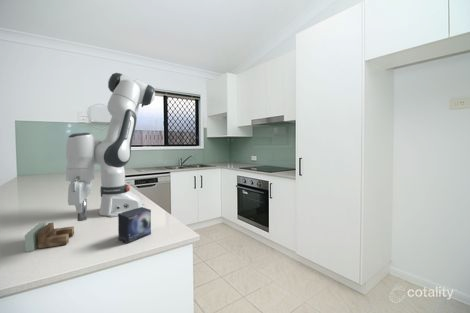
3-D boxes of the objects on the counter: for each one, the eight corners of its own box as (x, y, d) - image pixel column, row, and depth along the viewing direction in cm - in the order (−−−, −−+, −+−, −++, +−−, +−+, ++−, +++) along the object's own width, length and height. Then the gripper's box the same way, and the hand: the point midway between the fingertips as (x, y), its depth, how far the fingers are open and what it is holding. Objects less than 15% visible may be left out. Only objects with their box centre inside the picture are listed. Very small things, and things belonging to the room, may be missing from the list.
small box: (127, 244, 81) (126, 216, 80) (117, 240, 84) (116, 213, 84) (152, 234, 90) (151, 209, 89) (142, 230, 93) (141, 206, 93)
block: (74, 233, 89) (73, 220, 89) (66, 244, 80) (65, 229, 80) (49, 236, 86) (48, 223, 86) (38, 248, 77) (37, 233, 76)
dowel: (87, 218, 87) (87, 198, 87) (86, 220, 84) (85, 199, 84) (78, 219, 86) (78, 198, 86) (76, 221, 83) (76, 200, 83)
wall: (47, 236, 86) (46, 222, 86) (33, 251, 75) (32, 234, 75) (40, 237, 86) (39, 222, 85) (25, 252, 75) (24, 235, 74)
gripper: (84, 179, 76) (84, 218, 77) (94, 171, 95) (94, 203, 95) (62, 179, 73) (62, 220, 74) (77, 172, 92) (77, 204, 93)
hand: (80, 210), depth 85 cm, fingers closed on dowel, 3 cm apart
